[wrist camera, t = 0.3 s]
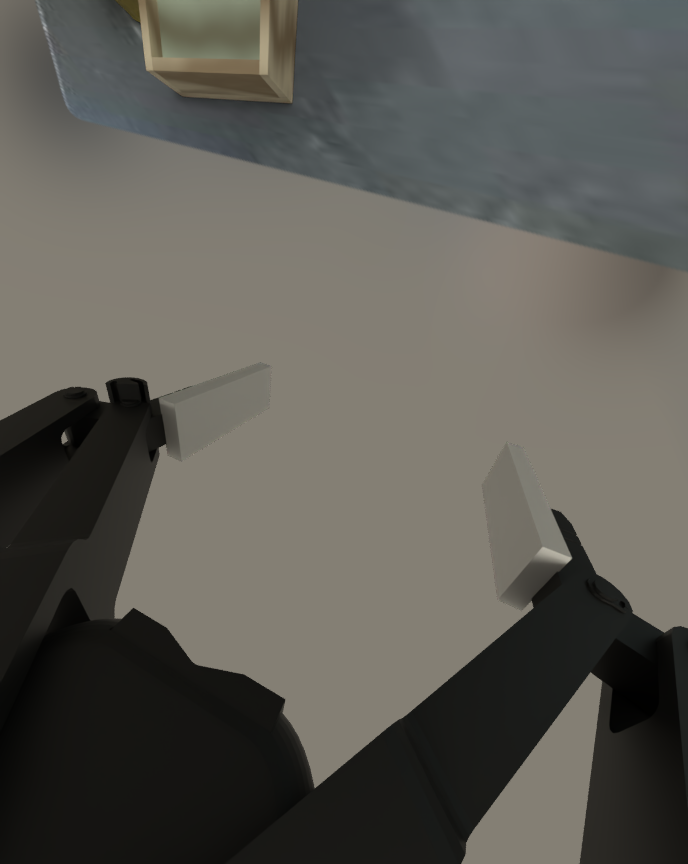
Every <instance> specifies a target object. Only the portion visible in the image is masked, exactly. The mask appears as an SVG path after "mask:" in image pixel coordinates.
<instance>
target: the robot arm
mask: <svg viewBox="0 0 688 864" xmlns="http://www.w3.org/2000/svg"><path fill="white" fill-rule="evenodd" d="M271 369H272V366H270V365H267V364H263V363H258V364H255V365H252V366H249V367H246V368H243V369H241V370H238V371H235V372H232V373H229V374H226V375H223V376H220V377H218V378H215V379H212V380H209V381H206V382H203V383H200V384H197V385H195V386H190V387H187V388H184V389H182V390H179V391H176V392H174V393H170V394H167V395H164V396H162V397H159V398H156V399H153V400H150V397H149V391H148V386H147V382H146V381H145V380H142V379H139V378H118V379H113V380H110V381H108V382H106V387H107V391H108V395H109V399H110V403H107V402H101V401H99V399H98V395H97V392H96V391H95V390H94V389H90V388H81V387H75V388H74V387H70V388H68V389H63V390H60V391H57V392H55V393H53V394H51V395H49V396H47V397H45V398H43V399H41V400H39V401H37V402H35V403H34V404H31V405H29V406H28V407H26V408H24V409H22V410H20V411H18V412H16V413H14V414H13V415H10V416H8V417H7V418H4V419H2V420H0V864H461V863H462V861H463V859H464V856H465V853H466V842H467V840H468V838H469V836H470V834H471V833H472V831H473V830H474V828H475V827H476V826H477V824H478V823H479V822H480V820H481V819H482V817H483V816H484V815H485V814H486V812H487V811H488V809H489V808H490V807H491V805H492V804H493V803H494V801H495V800H496V799H497V797H498V796H499V795H500V793H501V792H502V791H503V789H504V788H505V786H506V785H507V784H508V782H509V781H510V780H511V778H512V777H513V776H514V774H515V773H516V772H517V770H518V769H519V768H520V766H521V765H522V764H523V762H524V761H525V760H526V758H527V757H528V756H529V754H530V753H531V751H532V750H533V749H534V747H535V746H536V745H537V743H538V742H539V741H540V739H541V738H542V737H543V735H544V734H545V733H546V731H547V730H548V729H549V727H550V726H551V725H552V723H553V722H554V721H555V719H556V718H557V717H558V715H559V714H560V713H561V711H562V710H563V708H564V707H565V706H566V704H567V703H568V702H569V700H570V699H571V698H572V696H573V695H574V694H575V692H576V691H577V690H578V688H579V687H580V685H581V684H582V683H583V681H584V680H585V679H586V677H587V676H588V675H589V673H590V672H591V673H592V674H594V675H595V676H596V677H598V678H599V679H601V680H602V689H601V697H600V705H599V714H598V721H597V730H596V738H595V745H594V753H593V762H592V770H591V777H590V786H589V794H588V802H587V810H586V818H585V826H584V835H583V842H582V851H581V858H580V864H688V628H684V627H681V626H679V627H673V628H672V629H670V630H668V631H667V632H665V633H664V632H662V631H661V630H659V629H657V628H655V627H654V626H652V625H651V624H649V623H647V622H646V621H644V620H642V619H641V618H639V617H638V616H636V615H634V614H633V613H632V611H633V610H632V608H631V606H630V604H629V602H628V600H627V599H626V598H625V597H624V595H623V594H622V593H621V592H620V591H619V590H618V589H617V588H616V587H615V586H614V585H612V584H611V583H610V582H608V581H607V580H605V579H604V578H602V577H601V576H599V575H597V574H596V572H595V570H594V568H593V566H592V564H591V562H590V560H589V558H588V556H587V554H586V552H585V550H584V548H583V546H581V542H580V540H579V538H578V537H577V536H576V535H577V534H576V532H575V530H574V528H573V526H572V524H571V523H570V522H569V521H568V520H567V518H566V517H565V516H564V515H563V514H562V513H561V512H559V511H556V510H553V509H551V508H550V507H549V504H548V502H547V500H546V497H545V495H544V493H543V491H542V488H541V486H540V484H539V482H538V479H537V477H536V474H535V472H534V470H533V468H532V465H531V463H530V461H529V459H528V456H527V454H526V452H525V450H524V447H521V446H518V445H515V444H512V443H509V442H506V444H505V446H504V448H503V449H502V451H501V453H500V454H499V456H498V458H497V460H496V461H495V463H494V465H493V466H492V468H491V470H490V472H489V473H488V475H487V477H486V479H485V480H484V482H483V484H482V489H483V496H484V503H485V511H486V518H487V526H488V533H489V541H490V548H491V555H492V563H493V570H494V578H495V585H496V592H497V599H498V600H499V601H501V602H503V603H506V604H508V605H510V606H512V607H515V608H517V609H519V610H523V609H524V608H525V607H526V606H527V605H528V603H530V602H531V601H532V603H533V607H534V608H533V609H532V610H531V611H530V612H528V614H526V615H525V616H524V617H523V618H521V619H520V620H519V621H518V622H517V623H515V624H514V625H513V626H512V627H511V628H510V629H508V630H507V631H506V632H505V633H504V634H502V635H501V636H500V637H499V638H498V639H496V640H495V641H494V642H493V643H492V644H491V645H489V646H488V647H487V648H486V649H485V650H483V651H482V652H481V653H480V654H479V655H477V656H476V657H475V658H474V659H473V660H472V661H470V662H469V663H468V664H467V665H466V666H465V667H463V668H462V669H461V670H460V671H459V672H457V673H456V674H455V675H454V676H453V677H451V678H450V679H449V680H448V681H447V682H445V683H444V684H443V685H442V686H441V687H439V688H438V689H437V690H436V691H435V692H434V693H432V694H431V695H430V696H429V697H428V698H426V699H425V700H424V701H423V702H422V703H420V704H419V705H418V706H417V707H416V708H415V709H413V710H412V711H411V712H410V713H409V714H407V715H406V716H405V717H403V718H402V719H399V720H398V721H396V722H395V723H393V724H392V725H391V726H390V727H388V728H387V729H386V730H385V731H383V732H382V733H381V734H380V735H379V736H377V737H376V738H375V739H374V740H373V741H372V742H370V743H369V744H368V745H367V746H365V747H364V748H363V749H362V750H361V751H360V752H358V753H357V754H356V755H355V756H353V757H352V758H351V759H350V760H349V761H347V762H346V763H345V764H344V765H343V766H341V767H340V768H339V769H338V770H337V771H335V772H334V773H333V774H332V775H331V776H330V777H328V778H327V779H326V780H325V781H323V783H321V784H320V785H319V786H317V787H316V788H314V784H313V780H312V774H311V770H310V766H309V763H308V760H307V757H306V754H305V751H304V748H303V746H302V744H301V742H300V739H299V737H298V735H297V733H296V732H295V730H294V728H293V727H292V725H291V723H290V722H289V721H288V720H287V718H286V717H285V716H284V715H283V713H282V712H283V708H284V703H285V699H284V698H282V697H280V696H279V695H277V694H275V693H274V692H272V691H270V690H269V689H267V688H265V687H264V686H262V685H260V684H259V683H257V682H256V681H254V680H252V679H251V678H249V677H247V676H246V675H243V674H238V673H233V672H228V671H223V670H218V669H213V668H208V667H203V666H198V665H196V664H194V663H193V662H192V661H191V660H190V659H189V657H188V656H187V654H186V653H185V652H184V650H183V649H182V648H181V646H180V645H179V644H178V642H177V641H176V640H175V638H174V637H173V636H172V634H171V633H170V632H169V630H168V629H167V628H166V627H164V626H162V625H161V624H159V623H158V622H156V621H154V620H152V619H151V618H149V617H148V616H146V615H144V614H143V613H141V612H139V611H138V610H136V609H134V608H133V609H132V610H131V611H130V612H129V613H128V614H127V615H126V616H124V617H123V618H122V619H114V607H115V601H116V597H117V594H118V590H119V587H120V584H121V581H122V577H123V574H124V571H125V567H126V564H127V561H128V557H129V554H130V551H131V547H132V544H133V541H134V538H135V534H136V531H137V528H138V524H139V521H140V518H141V514H142V511H143V508H144V504H145V501H146V498H147V494H148V491H149V488H150V484H151V481H152V478H153V475H154V471H155V468H156V465H157V461H158V458H159V447H161V446H163V445H165V444H166V447H167V454H168V456H170V457H173V458H175V459H177V460H179V461H183V460H185V459H186V458H188V457H190V456H191V455H193V454H195V453H196V452H198V451H200V450H201V449H203V448H205V447H206V446H208V445H210V444H211V443H213V442H215V441H216V440H218V439H219V438H221V437H223V436H224V435H226V434H228V433H229V432H231V431H232V430H234V429H236V428H237V427H239V426H241V425H242V424H244V423H245V422H247V421H249V420H251V419H252V418H254V417H255V416H257V415H259V414H260V413H262V412H263V411H265V410H267V409H269V402H270V385H271ZM64 431H65V434H66V436H67V439H68V441H67V442H66V443H64V444H62V441H61V437H62V434H63V432H64Z"/></svg>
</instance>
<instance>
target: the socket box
mask: <svg viewBox="0 0 688 864" xmlns="http://www.w3.org/2000/svg"><path fill="white" fill-rule="evenodd" d="M138 4H139V12H140V21H141V29H142V38H143V47H144V55H145V64H146V70H147V71H148V72H149V73H151V74H152V75H153V76H155V77H156V78H158V79H159V80H160V81H162V82H163V83H164V84H166V85H167V86H169V87H170V88H171V89H173V90H174V91H175V92H177V93H178V94H180V95H181V96H182V97H195V98H211V99H227V100H243V101H260V102H276V103H292V99H293V81H294V64H295V46H296V29H297V11H298V0H138Z"/></svg>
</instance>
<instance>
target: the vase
mask: <svg viewBox="0 0 688 864" xmlns="http://www.w3.org/2000/svg"><path fill="white" fill-rule="evenodd" d="M115 1H116V2H117V3H118V4H119V5H121V6H122V7H123V8H124V9H125V10H126V11H127V12H128V13H129V14H130V15H131V17H132V18H133V19H135V20H136V21H138V22H140V23H141V21H140V12H139V4H138V0H115Z"/></svg>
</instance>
